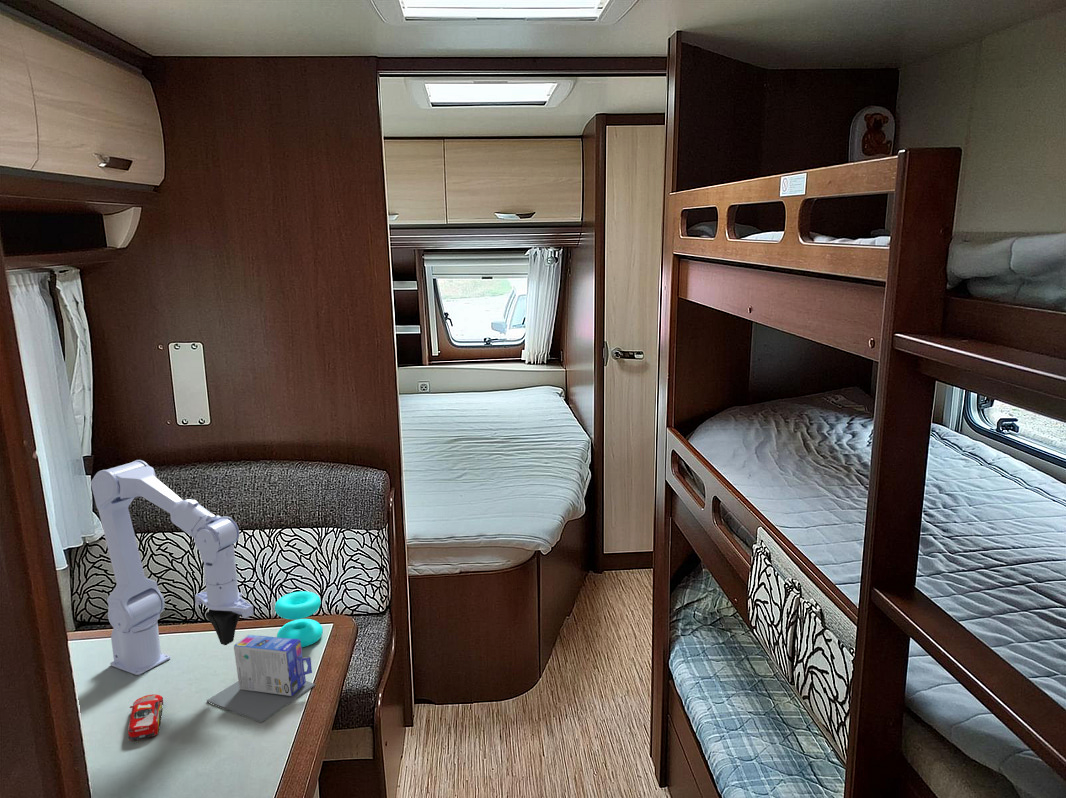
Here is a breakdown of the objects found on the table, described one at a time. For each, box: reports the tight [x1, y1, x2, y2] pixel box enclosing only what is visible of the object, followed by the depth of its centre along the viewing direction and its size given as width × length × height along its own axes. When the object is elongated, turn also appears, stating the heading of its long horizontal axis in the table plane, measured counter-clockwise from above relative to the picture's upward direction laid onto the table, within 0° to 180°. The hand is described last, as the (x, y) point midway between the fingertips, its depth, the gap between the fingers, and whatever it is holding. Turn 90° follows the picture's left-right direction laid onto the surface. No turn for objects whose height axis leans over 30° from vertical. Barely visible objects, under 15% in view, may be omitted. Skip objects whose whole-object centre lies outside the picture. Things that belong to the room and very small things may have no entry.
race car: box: [127, 693, 164, 742], centre depth 141 cm, size 13×5×4 cm, turn 21°
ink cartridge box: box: [233, 634, 313, 696], centre depth 150 cm, size 10×6×14 cm
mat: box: [206, 680, 316, 724], centre depth 149 cm, size 15×14×1 cm
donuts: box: [274, 590, 324, 648], centre depth 170 cm, size 10×10×10 cm
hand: (227, 642), depth 152 cm, fingers closed
